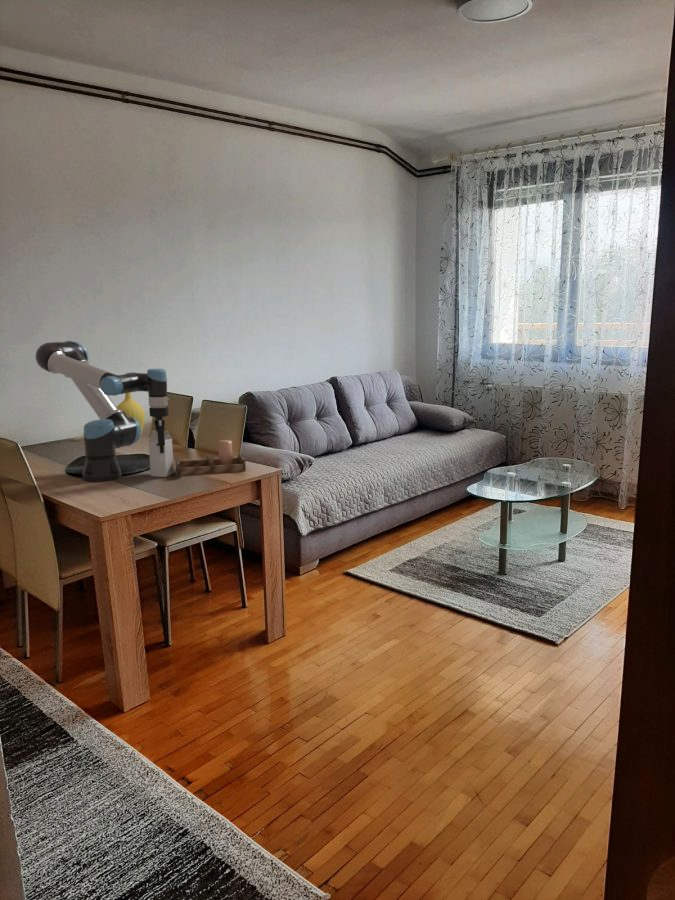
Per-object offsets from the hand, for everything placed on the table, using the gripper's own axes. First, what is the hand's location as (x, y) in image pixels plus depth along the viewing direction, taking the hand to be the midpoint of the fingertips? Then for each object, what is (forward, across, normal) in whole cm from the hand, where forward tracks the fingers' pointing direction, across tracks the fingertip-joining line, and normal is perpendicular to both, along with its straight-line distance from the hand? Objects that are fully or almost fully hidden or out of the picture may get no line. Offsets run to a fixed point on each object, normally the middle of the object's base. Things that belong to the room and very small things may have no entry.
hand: (161, 457), depth 277 cm
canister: (+6, -1, -27) cm, 27 cm away
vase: (+8, +92, +12) cm, 93 cm away
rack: (+8, -1, -20) cm, 21 cm away
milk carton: (+8, 0, 0) cm, 8 cm away
